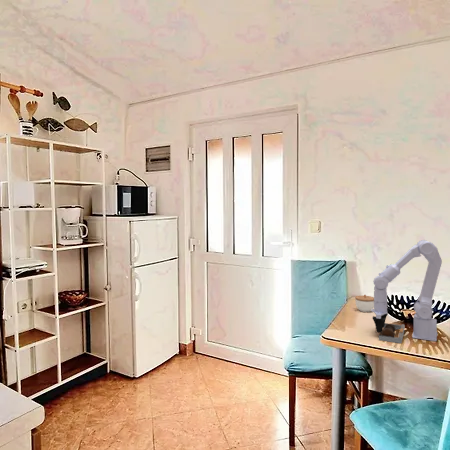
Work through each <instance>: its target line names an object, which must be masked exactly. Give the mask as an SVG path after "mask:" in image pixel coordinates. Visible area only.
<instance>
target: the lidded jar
mask: <svg viewBox="0 0 450 450" xmlns="http://www.w3.org/2000/svg"><path fill="white" fill-rule="evenodd" d="M354 300H355V301H354V302H355V305H356V308H357V309H358V310H359V312H363V313H370V312H372V311H371V310H372V309H374V296H369V295H366V294H364V295H356V296H355V299H354Z"/></svg>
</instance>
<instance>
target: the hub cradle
mask: <svg viewBox="0 0 450 450" xmlns="http://www.w3.org/2000/svg"><path fill="white" fill-rule="evenodd" d="M387 324H390V323H386V322H385V324H384V328H385V326H386V325H387ZM392 324H393V325H394V327H395V329H396V330H398V329H400V330H399V331H398V337H397V336H396V337H395V336H394V337H391V336H384V335H381V334H378V341H383V342H389V343H395V344H396V343H397V344H403V343H402V342H403V338H404V334H405V330H404V329H405V324H403V323H402V324H395V323H392ZM384 328H383V329H384Z"/></svg>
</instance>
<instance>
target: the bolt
mask: <svg viewBox="0 0 450 450" xmlns="http://www.w3.org/2000/svg"><path fill="white" fill-rule="evenodd" d="M393 324H394V323H389V324H387V325H386V326H385V328H383V330H382V332H381V333H380V335H384V336H391V337H395V336H396V334H395V331H396V330H397V329H395V327H394V325H393Z"/></svg>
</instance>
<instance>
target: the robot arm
mask: <svg viewBox="0 0 450 450" xmlns="http://www.w3.org/2000/svg"><path fill="white" fill-rule="evenodd" d="M422 256H424V258H425V260H427V262H428V263H427V268H426V271H425V275H424V279H423V282H422V283H423V284H422V287H421V289H420V294H419V296H418V297H417V300H416V301H415V302H414V303H413V304H414V305H413V310H414V312H415V313H414V314H413V332H412V337H411V338H412V339H418V340H425V341H432V342H437V339H438V338H437V337H438V332H437V330H438V329H437V328H438V327H437V326H438V324H437V323H438V322H437V321H438V320H437V319H436V318H432V315H433V309H432V306H433V297H434V292H435V289H436V286H437V281H438V277H439V274H440V271H441V267H442V263H443V261H442V260H443V259H442V257H441V255H440V252H439V249H438V247H437V246H436V245H435V244H434V243H433V242H431V241H428V240H425V239H422V240H419V241H418V242H417V243H416V244H414V245H413V246H411V248H409V249H408V250H407V251H406V252H405V253H404V255H402V256H401V257H400V258H399V259H398V260H397V261H396V262H395V263H393V264H392V263H391V264H389V265H386V266H385V268H384V269H383V271H381V272H379V273H378V275H377V276H375V277H374V278H373V285H374V289H373V290H374V291H373V297H374V308H373V309H372V310H371V311H370V312H371V313H374V315H375V316H374V315H373V316H372V320H373V322H374V326H375V331H376V333H380V334H381V332H382V331H383V329H384V324H385V323H386V319H387V316H388V315H389V313H388V292H387V288H388V286H389V283H392V281H394V279H396V278H397V277H398V276H399V275H400V274H401V269H402V268H403V267H404V266H406V265H407V264H408V263H409V262H411V260H413V259H414V258H418V257H422Z"/></svg>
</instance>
